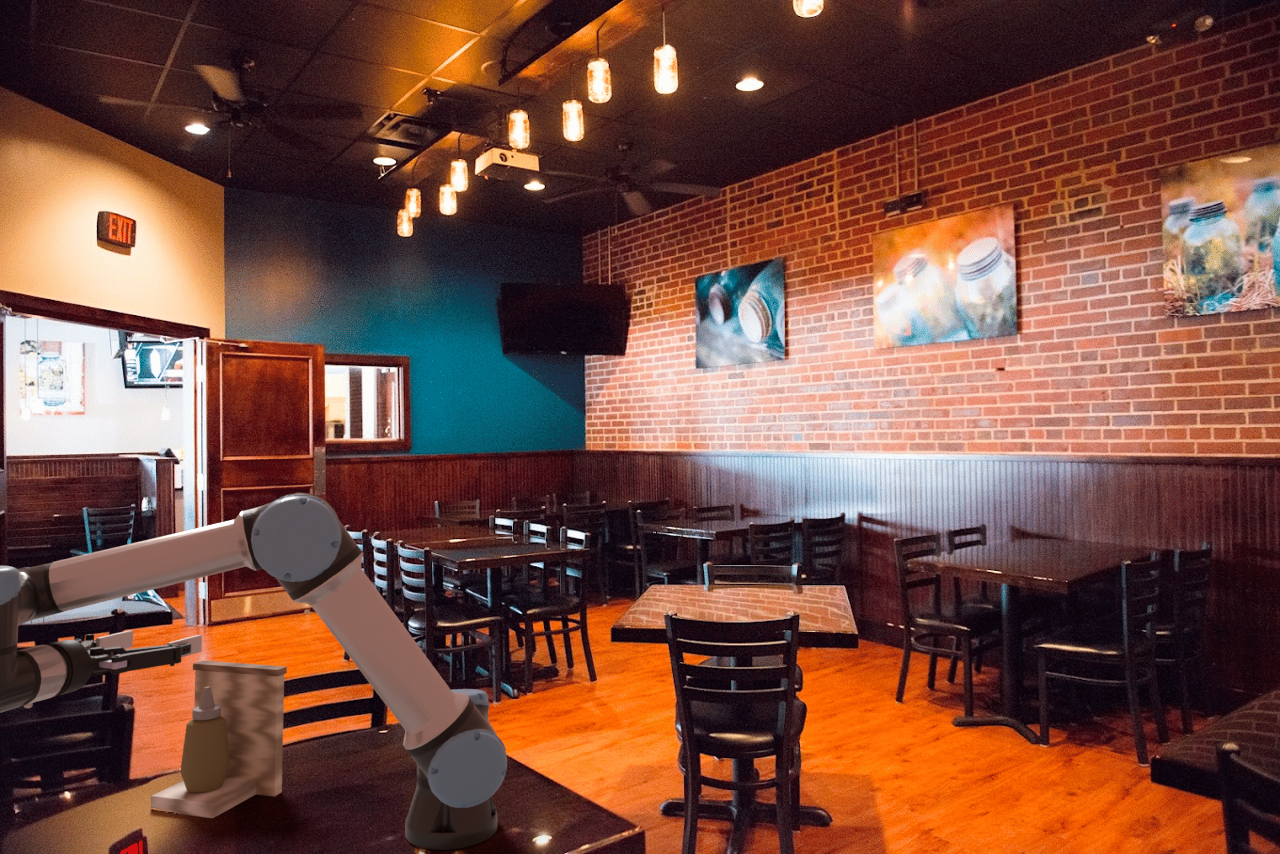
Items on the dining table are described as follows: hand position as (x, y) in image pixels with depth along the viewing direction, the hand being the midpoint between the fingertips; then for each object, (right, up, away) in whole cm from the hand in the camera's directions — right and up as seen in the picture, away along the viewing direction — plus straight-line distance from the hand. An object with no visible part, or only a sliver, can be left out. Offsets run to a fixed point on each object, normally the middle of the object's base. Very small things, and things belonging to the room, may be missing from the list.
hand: (165, 640), depth 142 cm
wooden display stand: (+1, -33, +14) cm, 36 cm away
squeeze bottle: (0, -30, +14) cm, 33 cm away
